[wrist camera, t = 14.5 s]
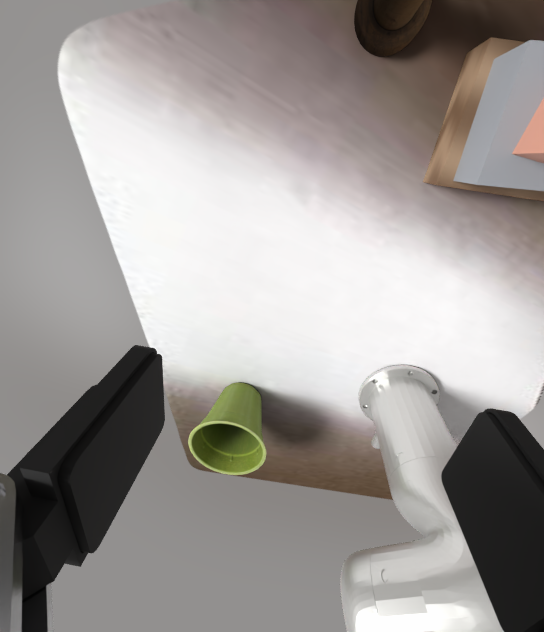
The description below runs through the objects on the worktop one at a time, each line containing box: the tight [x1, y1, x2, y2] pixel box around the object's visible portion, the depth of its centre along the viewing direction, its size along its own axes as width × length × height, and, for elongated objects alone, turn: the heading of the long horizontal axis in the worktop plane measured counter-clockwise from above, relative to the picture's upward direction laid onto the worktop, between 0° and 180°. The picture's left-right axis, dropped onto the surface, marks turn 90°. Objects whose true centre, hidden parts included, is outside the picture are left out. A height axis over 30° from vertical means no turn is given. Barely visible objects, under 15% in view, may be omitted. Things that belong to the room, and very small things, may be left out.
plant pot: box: [188, 383, 266, 475], centre depth 50 cm, size 12×12×11 cm
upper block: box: [453, 40, 544, 191], centre depth 27 cm, size 10×10×5 cm
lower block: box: [423, 37, 544, 201], centre depth 31 cm, size 12×12×5 cm
